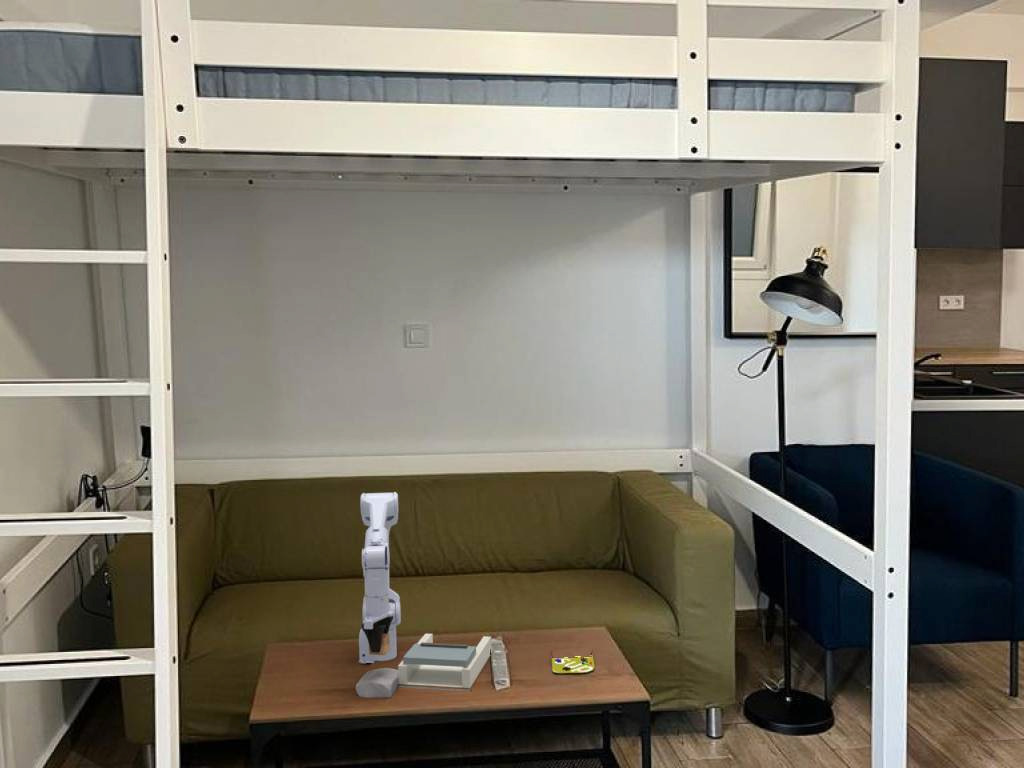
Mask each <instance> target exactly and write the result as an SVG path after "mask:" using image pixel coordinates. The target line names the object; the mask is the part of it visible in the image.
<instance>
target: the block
mask: <svg viewBox="0 0 1024 768" xmlns="http://www.w3.org/2000/svg"><path fill="white" fill-rule="evenodd" d="M389 650H390V637H389V634H384V633H383V634H382V641H381V649H380V652H379V653H378V652H371V650H370V646H369V654H370V655H386V653H387V652H388V651H389Z"/></svg>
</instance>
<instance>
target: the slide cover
mask: <svg viewBox="0 0 1024 768" xmlns="http://www.w3.org/2000/svg"><path fill="white" fill-rule="evenodd" d="M476 647H477V646H474V645H473V646H472V645H471V646H470V645H468V644H462V643H460V644H459V643H442V642H441V643H440V642H439V643H438V642H433V643H424V642H422V643H421V644H417V643H414V644H413V645H412V647H410V649H409V650H408V651H407V652H406V653H405V654H404V656H403V657H402V661H403V664H418V665H437V666H455V667H467V666H468V664H469V663H470V661H471V660H472V658H473V657H474V655H475V654H476Z"/></svg>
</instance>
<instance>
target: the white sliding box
mask: <svg viewBox="0 0 1024 768" xmlns="http://www.w3.org/2000/svg"><path fill="white" fill-rule="evenodd" d="M422 642H424V643H434V634H433V633H425V634H424V635H423V636H422V637H421V638H420V639H419V641H418V642H416V644H421V643H422ZM475 647H476V654H475V655H474V657H473V658H472V660H471V661H470V663H469V664H468V666H467V667H455V666H437V665H418V664H403V660H401V661H400V663H399V664H398V665H397V670H398V679H399V684H398V686H399V687H398V689H399V688H400V689H415V690H432V691H433V690H434V691H448V692H449V691H450V692H451V691H452V692H463V693H464V692H466V693H467V692H469V693H471V691H472V689H471V688H472V686H473V685H474V683H475V681H476V679H477V678H478V676H479V674H481V671H482V669H483V668H484V666H485V665H486V664H487V662H488V661H489V659H490V656H491V655H490V649H491V650H492V636H486V635H483V636H482V638H481V640H480V641H479V642H478V644H477V645H476V646H475ZM429 686H430V687H429ZM432 686H433V687H432ZM447 687H448V688H447ZM463 688H464V689H463Z"/></svg>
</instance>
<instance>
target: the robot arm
mask: <svg viewBox="0 0 1024 768" xmlns="http://www.w3.org/2000/svg"><path fill="white" fill-rule="evenodd" d="M359 501H360V516H361V521H362V522H363V525H364V526H367V527H368V529H366V531H365V538H364V539H365V540H364V548H361V549H362V550H361V566H362V571H363V573H362V574H363V578H364V597H363V599H362V611H361V612H362V624H361V628H360V631H359V635H358V648H359V649H358V651H359V654H358V655H359V660H358V663H359V662H361V663H360V664H366V663H372V664H374V663H375V661H376V662H385V661H390V660H393V659H395V658H396V657H397V655H398V652H397V651H398V650H397V646H398V645H397V626H399V625H400V624H401V623H402V622H401V616H402V614H401V613H402V611H401V598H400V595H399V594H398V593H397V592H396V591H394V590H393V589H391V588H390V561H391V560H390V557H391V556H390V531H391V528H392V526H395V525H397V524H398V520H399V495H398V493H397V492H396V491H394V492H373V493H372V492H371V493H369V492H368V493H365V492H362V494H361V495H360V500H359ZM383 633H384V634H389V637H390V650H389V651H388V652H387V653H386V655H370V654H369V646H370V650H371V652H378V653H379V652H380V649H381V641H382V634H383ZM364 661H365V662H364Z"/></svg>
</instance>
